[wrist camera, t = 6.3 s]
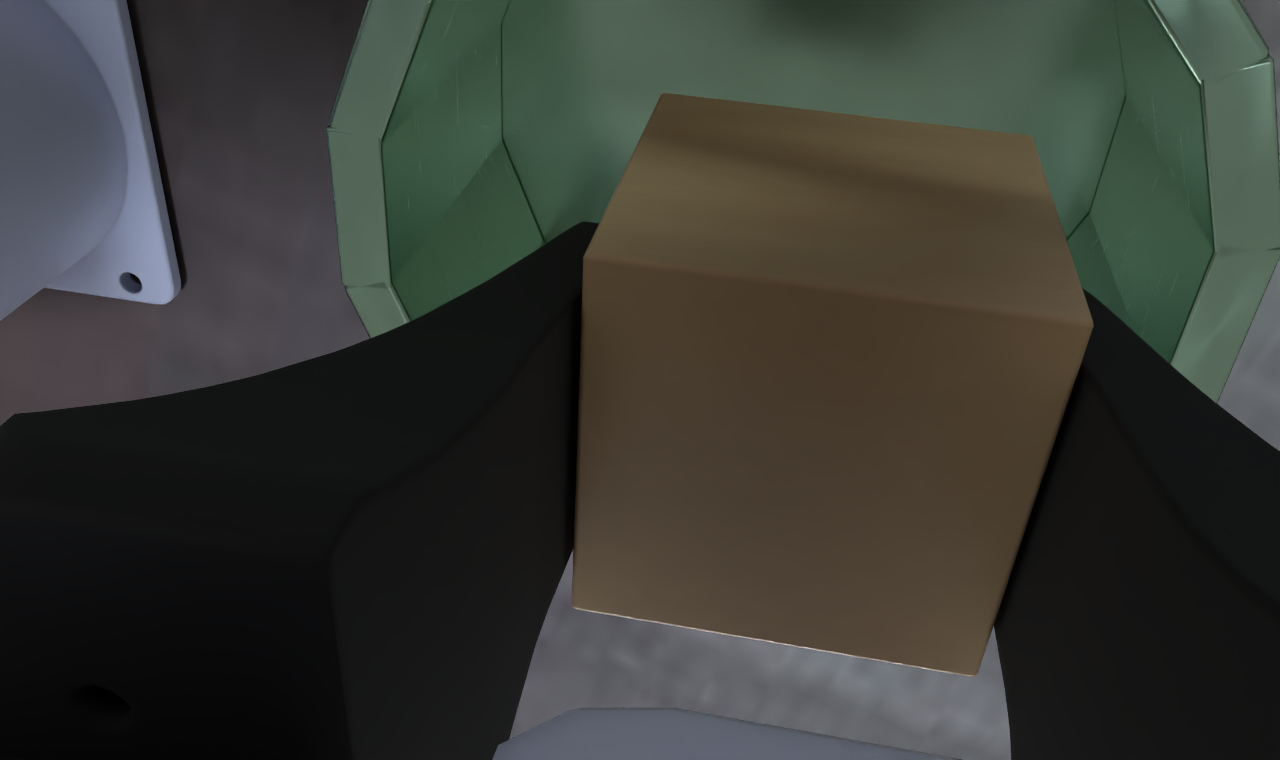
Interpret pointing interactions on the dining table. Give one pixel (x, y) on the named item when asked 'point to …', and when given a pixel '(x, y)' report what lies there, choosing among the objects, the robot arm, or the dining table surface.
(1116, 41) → the jar
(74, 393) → the dining table surface
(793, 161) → the block
